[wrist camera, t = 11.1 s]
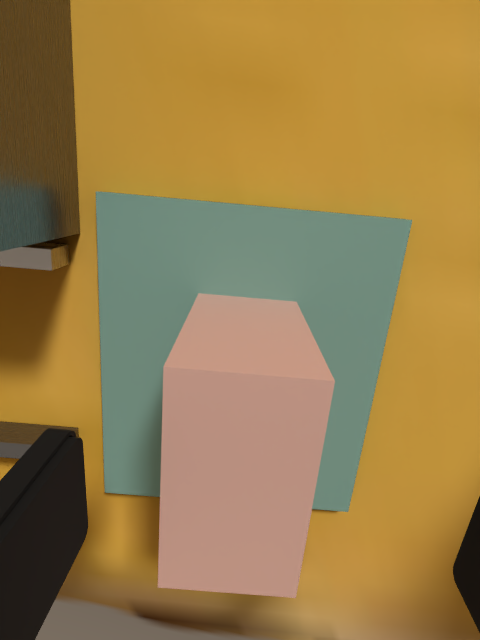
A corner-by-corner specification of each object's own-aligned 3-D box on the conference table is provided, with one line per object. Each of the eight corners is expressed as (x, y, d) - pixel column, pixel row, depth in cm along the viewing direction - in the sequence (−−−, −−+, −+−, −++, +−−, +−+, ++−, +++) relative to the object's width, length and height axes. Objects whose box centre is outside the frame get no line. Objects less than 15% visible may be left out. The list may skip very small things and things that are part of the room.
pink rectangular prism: (297, 301, 16) (336, 381, 9) (277, 446, 18) (297, 597, 11) (197, 293, 15) (160, 366, 9) (189, 439, 18) (156, 587, 11)
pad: (403, 219, 15) (412, 220, 14) (344, 499, 20) (348, 511, 19) (103, 192, 15) (95, 191, 14) (110, 480, 19) (104, 492, 19)
